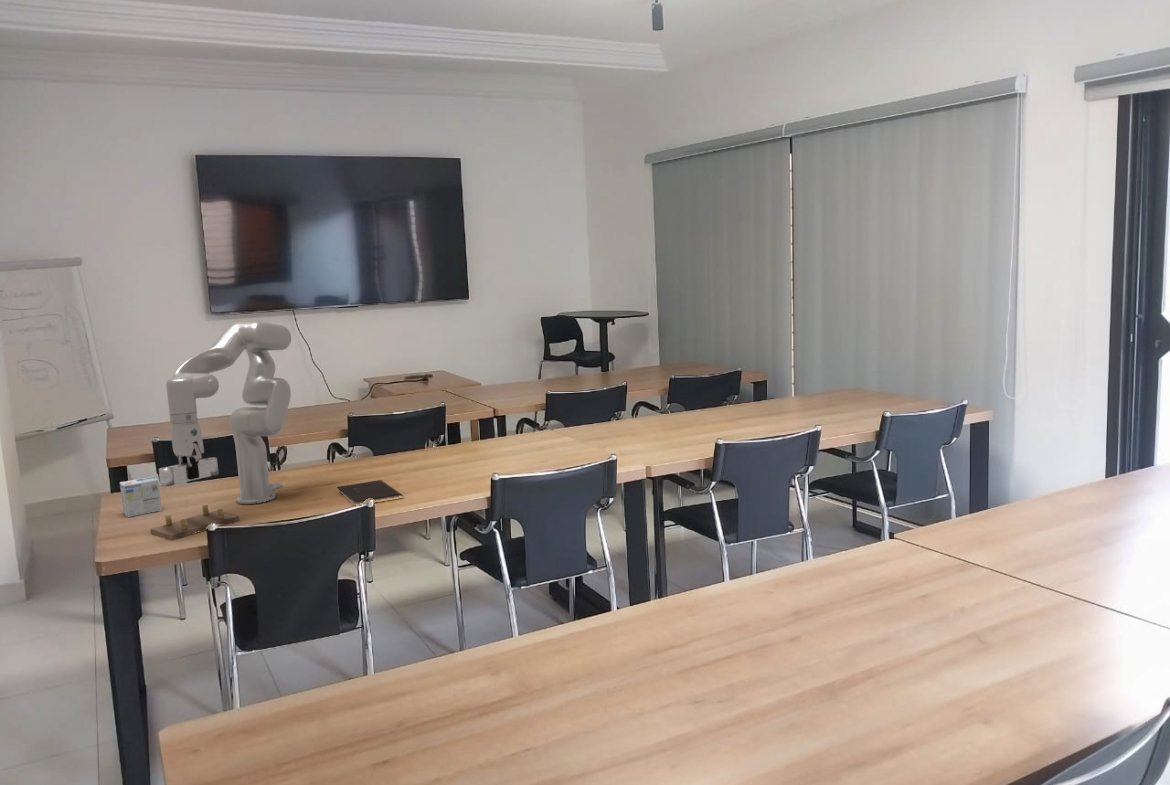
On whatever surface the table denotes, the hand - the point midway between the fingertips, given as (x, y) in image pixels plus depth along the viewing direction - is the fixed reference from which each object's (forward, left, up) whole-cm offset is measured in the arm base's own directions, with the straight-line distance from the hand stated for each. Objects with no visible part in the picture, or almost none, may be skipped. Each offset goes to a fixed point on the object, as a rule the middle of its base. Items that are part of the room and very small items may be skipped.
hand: (190, 477), depth 268 cm
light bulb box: (0, -32, -16) cm, 36 cm away
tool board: (0, 0, -16) cm, 16 cm away
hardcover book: (-51, +20, -16) cm, 57 cm away
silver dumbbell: (0, 0, -1) cm, 1 cm away
